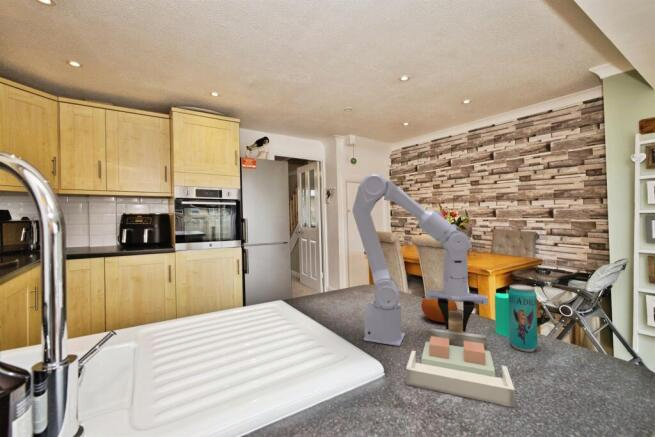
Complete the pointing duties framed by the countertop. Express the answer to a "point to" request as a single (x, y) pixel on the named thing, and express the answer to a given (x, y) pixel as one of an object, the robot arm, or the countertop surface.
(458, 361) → the board
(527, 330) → the beverage can
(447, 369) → the tray
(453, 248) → the robot arm
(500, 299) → the candle
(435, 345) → the tile left
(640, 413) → the countertop surface
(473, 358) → the tile right
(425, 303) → the fruit
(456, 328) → the scraper
